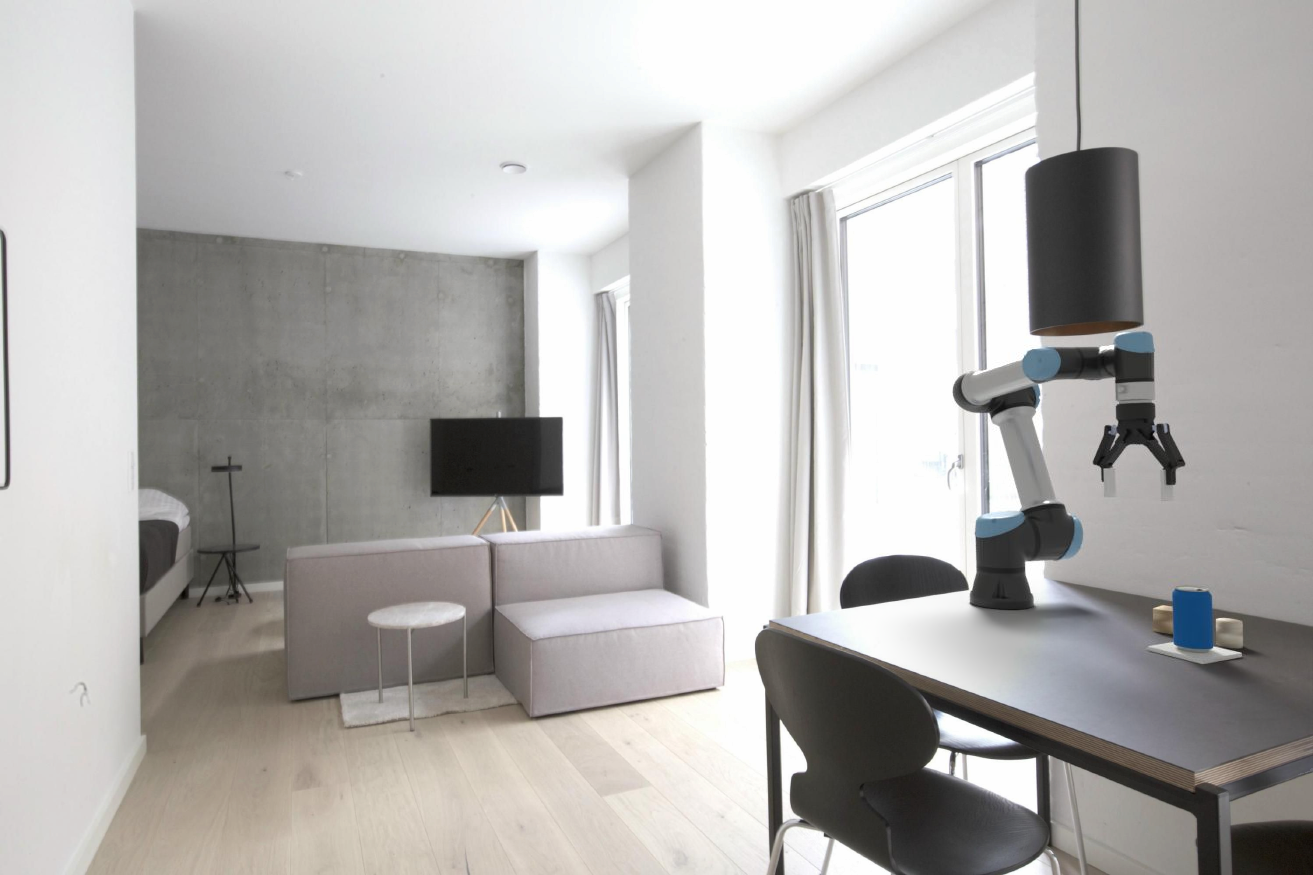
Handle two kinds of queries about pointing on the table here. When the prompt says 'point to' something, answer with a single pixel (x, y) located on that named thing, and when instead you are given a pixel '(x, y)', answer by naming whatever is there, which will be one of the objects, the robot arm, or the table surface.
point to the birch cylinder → (1229, 633)
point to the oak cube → (1163, 619)
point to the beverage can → (1192, 618)
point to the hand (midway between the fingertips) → (1137, 498)
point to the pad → (1202, 658)
